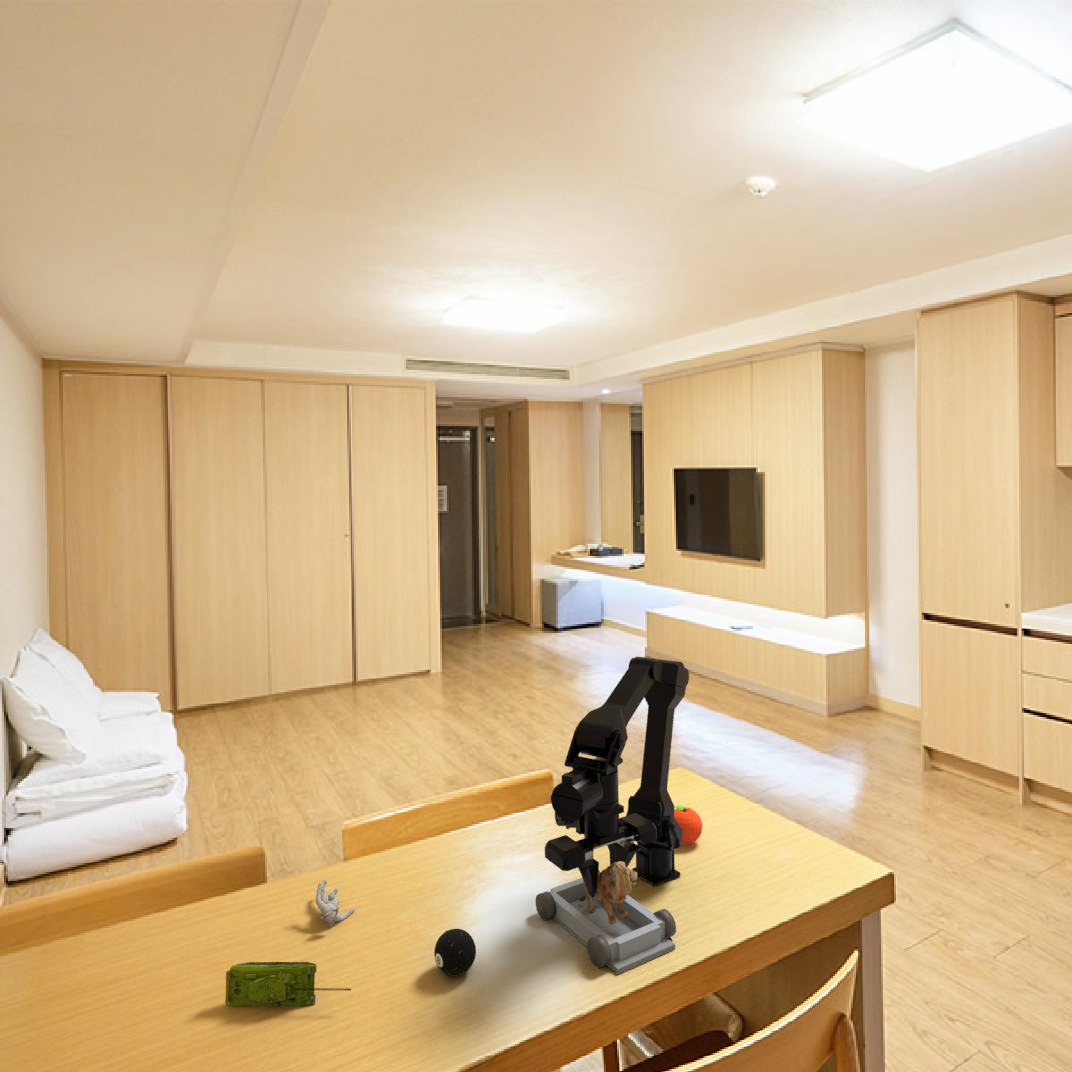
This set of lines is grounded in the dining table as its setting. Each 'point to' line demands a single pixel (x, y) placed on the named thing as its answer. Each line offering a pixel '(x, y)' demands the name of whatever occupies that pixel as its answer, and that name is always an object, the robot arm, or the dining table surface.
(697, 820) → the clementine
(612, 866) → the lion figurine
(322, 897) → the grey irregular piece
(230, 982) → the toy tank
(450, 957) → the billiard ball
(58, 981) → the dining table surface
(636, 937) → the chassis
